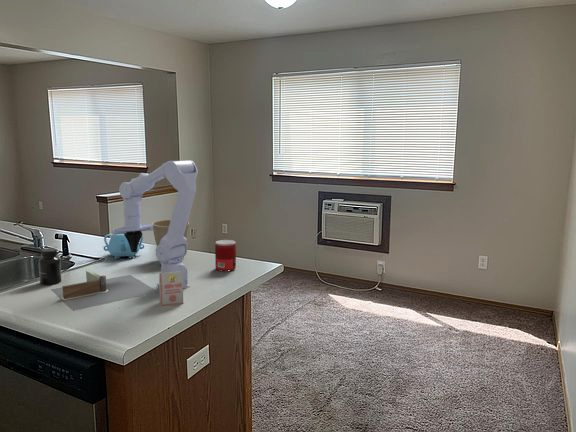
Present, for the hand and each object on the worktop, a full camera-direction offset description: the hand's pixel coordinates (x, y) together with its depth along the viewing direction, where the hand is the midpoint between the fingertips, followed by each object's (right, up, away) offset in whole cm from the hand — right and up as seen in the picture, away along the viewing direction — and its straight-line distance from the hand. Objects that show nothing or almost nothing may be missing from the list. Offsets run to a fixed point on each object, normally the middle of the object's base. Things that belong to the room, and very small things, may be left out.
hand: (133, 251), depth 169 cm
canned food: (+32, -8, +13) cm, 35 cm away
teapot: (-14, -4, +29) cm, 33 cm away
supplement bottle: (-26, -11, -8) cm, 29 cm away
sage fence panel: (-10, -11, -11) cm, 18 cm away
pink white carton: (+20, -14, -24) cm, 34 cm away
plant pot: (+8, -6, +24) cm, 26 cm away
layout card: (-5, -12, -15) cm, 20 cm away
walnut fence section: (-9, -12, -19) cm, 25 cm away
